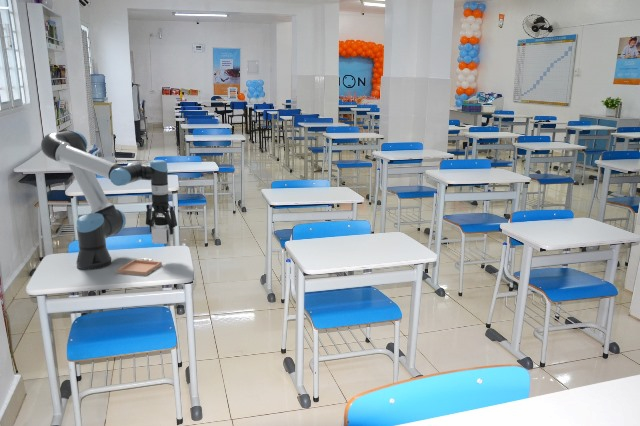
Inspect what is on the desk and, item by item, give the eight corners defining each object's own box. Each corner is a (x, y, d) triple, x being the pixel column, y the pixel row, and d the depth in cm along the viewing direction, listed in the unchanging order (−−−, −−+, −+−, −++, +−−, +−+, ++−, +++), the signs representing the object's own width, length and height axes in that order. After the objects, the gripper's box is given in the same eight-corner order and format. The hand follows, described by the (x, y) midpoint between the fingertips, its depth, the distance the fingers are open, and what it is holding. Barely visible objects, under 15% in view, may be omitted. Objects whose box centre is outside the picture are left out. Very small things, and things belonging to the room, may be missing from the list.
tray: (117, 272, 236) (116, 269, 236) (134, 262, 250) (134, 259, 249) (145, 275, 233) (145, 272, 233) (161, 265, 247) (161, 261, 246)
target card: (135, 262, 250) (135, 260, 250) (141, 258, 255) (141, 257, 255) (147, 263, 249) (147, 261, 249) (152, 259, 254) (152, 258, 254)
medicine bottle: (167, 243, 248) (166, 219, 245) (152, 243, 248) (151, 218, 245) (171, 239, 254) (170, 215, 251) (157, 239, 255) (156, 215, 252)
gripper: (135, 193, 244) (138, 240, 249) (176, 196, 240) (178, 244, 245) (144, 190, 251) (146, 235, 256) (184, 193, 247) (185, 239, 252)
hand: (162, 239), depth 251 cm, fingers closed on medicine bottle, 8 cm apart
